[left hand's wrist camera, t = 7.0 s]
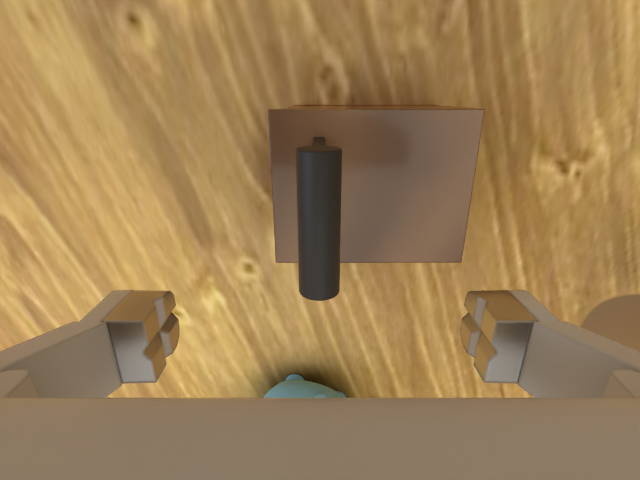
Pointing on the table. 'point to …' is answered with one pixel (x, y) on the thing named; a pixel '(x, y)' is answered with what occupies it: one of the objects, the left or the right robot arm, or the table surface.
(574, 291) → the table surface
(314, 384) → the teapot
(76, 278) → the table surface
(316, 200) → the lid
